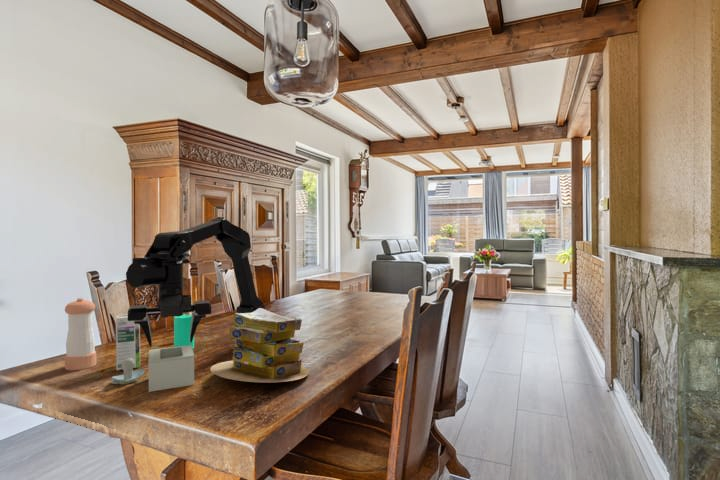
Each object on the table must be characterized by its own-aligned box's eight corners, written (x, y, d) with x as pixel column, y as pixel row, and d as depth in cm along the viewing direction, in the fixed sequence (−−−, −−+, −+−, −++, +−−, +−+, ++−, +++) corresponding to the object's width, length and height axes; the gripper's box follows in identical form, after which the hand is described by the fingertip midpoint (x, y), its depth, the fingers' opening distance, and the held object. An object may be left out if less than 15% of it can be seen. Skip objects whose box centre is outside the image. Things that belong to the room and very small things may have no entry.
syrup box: (115, 371, 108) (115, 317, 108) (117, 364, 114) (117, 313, 113) (139, 367, 111) (139, 315, 111) (140, 361, 116) (139, 312, 116)
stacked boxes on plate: (270, 356, 122) (270, 301, 122) (327, 374, 106) (327, 312, 105) (192, 378, 103) (192, 314, 103) (247, 405, 87) (247, 329, 87)
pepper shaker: (68, 363, 114) (68, 297, 114) (98, 360, 117) (98, 295, 117) (61, 372, 107) (60, 301, 107) (93, 368, 110) (92, 299, 110)
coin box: (191, 371, 108) (191, 345, 107) (194, 384, 99) (194, 355, 99) (149, 377, 103) (149, 350, 103) (148, 391, 94) (148, 361, 94)
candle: (186, 351, 126) (186, 313, 126) (170, 350, 127) (169, 312, 127) (198, 346, 132) (197, 310, 132) (181, 345, 133) (181, 309, 133)
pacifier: (105, 384, 100) (116, 388, 96) (104, 359, 100) (116, 363, 96) (135, 375, 106) (147, 379, 102) (134, 352, 106) (146, 355, 102)
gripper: (125, 288, 89) (126, 358, 89) (213, 284, 97) (214, 347, 98) (128, 283, 99) (129, 345, 99) (208, 279, 107) (209, 336, 108)
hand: (171, 344), depth 101 cm, fingers open, 9 cm apart
